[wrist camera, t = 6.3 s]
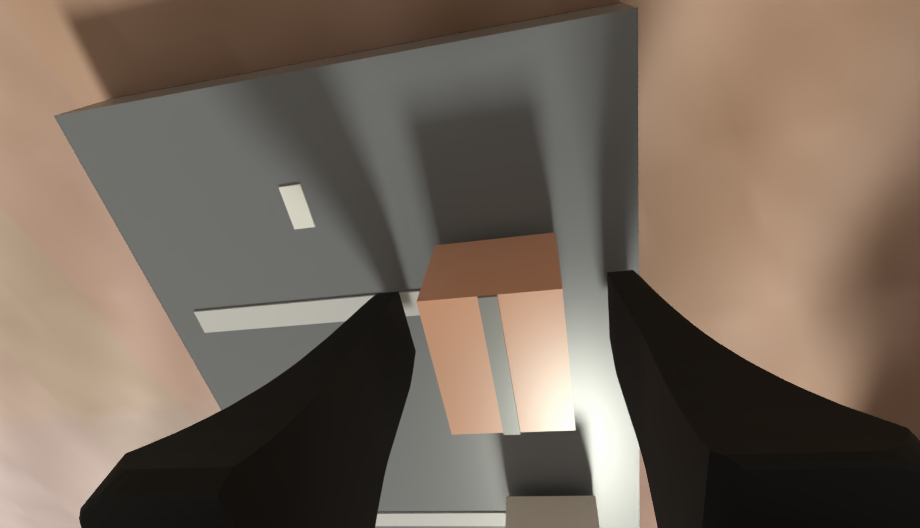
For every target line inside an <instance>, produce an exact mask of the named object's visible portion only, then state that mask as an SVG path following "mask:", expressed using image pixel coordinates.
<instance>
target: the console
mask: <svg viewBox="0 0 920 528" xmlns="http://www.w3.org/2000/svg"><path fill="white" fill-rule="evenodd" d="M54 117H55V119H56V120H57V122H58V124H59V126H60V127H61V129H62V131H63V133H64V134H65V136H66V138H67V140H68V141H69V143H70V145H71V147H72V148H73V150H74V152H75V154H76V156H77V157H78V159H79V161H80V163H81V164H82V166H83V168H84V170H85V171H86V173H87V175H88V177H89V178H90V180H91V182H92V184H93V185H94V187H95V189H96V191H97V192H98V194H99V196H100V198H101V199H102V201H103V203H104V205H105V206H106V208H107V210H108V212H109V213H110V215H111V217H112V219H113V221H114V222H115V224H116V226H117V228H118V229H119V231H120V233H121V235H122V236H123V238H124V240H125V242H126V243H127V245H128V247H129V249H130V250H131V252H132V254H133V256H134V257H135V259H136V261H137V263H138V264H139V266H140V268H141V270H142V271H143V273H144V275H145V277H146V278H147V280H148V282H149V284H150V286H151V287H152V289H153V291H154V293H155V294H156V296H157V298H158V300H159V301H160V303H161V305H162V307H163V308H164V310H165V312H166V314H167V315H168V317H169V319H170V321H171V322H172V324H173V326H174V328H175V329H176V331H177V333H178V335H179V336H180V338H181V340H182V342H183V344H184V345H185V347H186V349H187V351H188V352H189V354H190V356H191V358H192V359H193V361H194V363H195V365H196V366H197V368H198V370H199V372H200V373H201V375H202V377H203V379H204V380H205V382H206V384H207V386H208V387H209V389H210V391H211V393H212V394H213V396H214V398H215V400H216V401H217V403H218V405H219V407H220V409H221V410H223V409H225V408H227V407H229V406H231V405H232V404H234V403H236V402H237V401H239V400H241V399H242V398H244V397H246V396H247V395H249V394H251V393H252V392H254V391H256V390H257V389H259V388H261V387H262V386H264V385H266V384H267V383H269V382H270V381H272V380H273V379H274V378H276V377H277V376H279V375H280V374H282V373H283V372H285V371H286V370H287V369H289V368H290V367H291V366H293V365H294V364H296V363H297V362H298V361H299V360H301V359H302V358H303V357H304V356H306V355H307V354H308V353H309V352H310V351H312V350H313V349H314V348H315V347H317V346H318V345H319V344H320V343H321V342H323V341H324V340H325V339H326V338H327V337H329V336H330V335H331V334H332V333H333V332H334V331H335V330H336V329H338V328H339V327H340V326H341V325H342V324H343V323H344V322H345V321H346V320H347V319H349V318H350V317H351V316H352V315H353V314H354V313H355V312H356V311H357V310H358V309H359V308H361V307H362V306H363V305H364V304H365V303H366V302H367V301H368V300H370V299H371V298H372V297H373V296H375V295H376V294H377V293H387V292H398V291H399V294H400V297H401V301H402V304H403V308H404V312H405V315H406V319H407V322H408V326H409V329H410V333H411V336H412V340H413V343H414V347H415V350H416V354H415V361H414V368H413V375H412V381H411V386H410V389H409V393H408V396H407V400H406V403H405V406H404V410H403V413H402V416H401V420H400V423H399V426H398V429H397V433H396V436H395V439H394V443H393V446H392V449H391V453H390V456H389V459H388V463H387V467H386V471H385V476H384V481H383V486H382V492H381V497H380V502H379V508H378V513H377V519H376V525H375V528H505V524H506V497H513V496H595V497H596V504H597V512H598V519H599V526H600V528H639V444H638V441H637V437H636V434H635V431H634V428H633V425H632V422H631V419H630V416H629V412H628V409H627V406H626V403H625V400H624V397H623V394H622V390H621V387H620V384H619V381H618V378H617V374H616V370H615V365H614V360H613V354H612V349H611V343H610V336H609V310H608V285H607V272H616V271H627V270H634V271H635V272H636V273H637V274H638V275H639V260H638V8H636V7H633V6H629V5H626V4H623V3H618V4H612V5H607V6H602V7H596V8H591V9H586V10H581V11H575V12H570V13H565V14H559V15H554V16H549V17H543V18H538V19H533V20H527V21H522V22H517V23H511V24H506V25H501V26H496V27H490V28H485V29H480V30H474V31H469V32H464V33H458V34H453V35H448V36H442V37H437V38H432V39H426V40H421V41H416V42H410V43H405V44H400V45H395V46H389V47H384V48H379V49H373V50H368V51H363V52H357V53H352V54H347V55H341V56H336V57H331V58H325V59H320V60H315V61H310V62H304V63H299V64H294V65H288V66H283V67H278V68H272V69H267V70H262V71H256V72H251V73H246V74H240V75H235V76H230V77H224V78H219V79H214V80H209V81H203V82H198V83H193V84H187V85H182V86H177V87H171V88H166V89H161V90H155V91H150V92H145V93H139V94H134V95H129V96H124V97H118V98H113V99H109V100H106V101H102V102H99V103H96V104H92V105H89V106H86V107H82V108H79V109H76V110H72V111H69V112H66V113H62V114H59V115H56V116H54ZM554 232H556V239H557V247H558V256H559V264H560V272H561V280H562V289H563V299H564V310H565V321H566V332H567V343H568V354H569V365H570V375H571V386H572V397H573V408H574V419H575V430H571V431H543V432H520V435H504V433H485V434H457V435H452V434H451V430H450V426H449V422H448V419H447V415H446V411H445V407H444V404H443V400H442V396H441V392H440V389H439V385H438V381H437V377H436V374H435V370H434V366H433V362H432V359H431V355H430V351H429V347H428V344H427V340H426V336H425V332H424V329H423V325H422V321H421V317H420V314H419V310H418V306H417V302H416V301H417V298H418V295H419V292H420V289H421V286H422V283H423V280H424V277H425V274H426V271H427V268H428V265H429V262H430V259H431V256H432V253H433V250H434V247H435V245H443V244H452V243H461V242H470V241H480V240H489V239H498V238H507V237H517V236H526V235H535V234H544V233H554Z"/></svg>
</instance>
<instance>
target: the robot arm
mask: <svg viewBox="0 0 920 528" xmlns="http://www.w3.org/2000/svg"><path fill="white" fill-rule="evenodd" d="M607 285H608V310H609V336H610V343H611V349H612V354H613V360H614V365H615V370H616V374H617V378H618V381H619V384H620V387H621V390H622V394H623V397H624V400H625V403H626V406H627V409H628V412H629V416H630V419H631V422H632V425H633V428H634V431H635V434H636V437H637V441H638V444H639V447H640V450H641V453H642V457H643V461H644V465H645V468H646V473H647V478H648V482H649V487H650V492H651V497H652V501H653V506H654V511H655V516H656V521H657V526H658V528H920V440H919V439H918V438H917V437H916V436H915V435H914V434H913V433H912V432H911V431H910V430H909V429H908V428H905V427H903V426H900V425H897V424H894V423H891V422H888V421H886V420H883V419H880V418H877V417H874V416H871V415H868V414H866V413H863V412H860V411H857V410H854V409H851V408H848V407H846V406H843V405H841V404H838V403H836V402H833V401H831V400H828V399H826V398H824V397H821V396H819V395H817V394H814V393H812V392H809V391H807V390H805V389H803V388H800V387H798V386H796V385H794V384H792V383H790V382H787V381H785V380H783V379H781V378H779V377H777V376H775V375H774V374H772V373H770V372H768V371H766V370H764V369H762V368H760V367H758V366H756V365H754V364H753V363H751V362H749V361H747V360H745V359H744V358H742V357H740V356H739V355H737V354H736V353H734V352H732V351H731V350H729V349H727V348H726V347H724V346H723V345H721V344H719V343H718V342H716V341H715V340H714V339H712V338H711V337H709V336H708V335H706V334H705V333H704V332H702V331H701V330H700V329H698V328H697V327H696V326H694V325H693V324H692V323H691V322H689V321H688V320H687V319H686V318H684V317H683V316H682V315H681V314H680V313H679V312H677V311H676V310H675V309H674V308H673V307H672V306H670V305H669V304H668V303H667V302H666V301H665V300H664V299H663V298H662V297H661V296H659V295H658V294H657V293H656V292H655V291H654V290H653V289H652V288H651V287H650V286H649V285H648V284H647V283H646V282H645V281H644V280H643V279H642V278H641V277H640V276H639V275H638V274H637V273H636V272H635V271H634V270H627V271H616V272H607ZM415 354H416V350H415V347H414V343H413V340H412V336H411V333H410V329H409V326H408V322H407V319H406V315H405V312H404V308H403V304H402V301H401V297H400V294H399V291H398V292H387V293H377V294H376V295H375V296H373V297H372V298H371V299H370V300H368V301H367V302H366V303H365V304H364V305H363V306H362V307H361V308H359V309H358V310H357V311H356V312H355V313H354V314H353V315H352V316H351V317H350V318H349V319H347V320H346V321H345V322H344V323H343V324H342V325H341V326H340V327H339V328H338V329H336V330H335V331H334V332H333V333H332V334H331V335H330V336H329V337H327V338H326V339H325V340H324V341H323V342H321V343H320V344H319V345H318V346H317V347H315V348H314V349H313V350H312V351H310V352H309V353H308V354H307V355H306V356H304V357H303V358H302V359H301V360H299V361H298V362H297V363H296V364H294V365H293V366H291V367H290V368H289V369H287V370H286V371H285V372H283V373H282V374H280V375H279V376H277V377H276V378H274V379H273V380H272V381H270V382H269V383H267V384H266V385H264V386H262V387H261V388H259V389H257V390H256V391H254V392H252V393H251V394H249V395H247V396H246V397H244V398H242V399H241V400H239V401H237V402H236V403H234V404H232V405H231V406H229V407H227V408H225V409H223V410H221V411H219V412H218V413H216V414H214V415H212V416H210V417H208V418H206V419H204V420H202V421H200V422H198V423H196V424H194V425H192V426H190V427H188V428H185V429H183V430H181V431H179V432H177V433H174V434H172V435H170V436H167V437H165V438H163V439H160V440H158V441H155V442H153V443H151V444H148V445H146V446H143V447H141V448H139V449H136V450H134V451H131V452H129V453H126V454H125V455H124V456H123V457H122V459H121V460H120V461H119V462H118V463H117V465H116V466H115V467H114V468H113V470H112V471H111V472H110V473H109V474H108V476H107V477H106V478H105V479H104V481H103V482H102V483H101V484H100V485H99V487H98V488H97V489H96V490H95V492H94V493H93V494H92V495H91V496H90V498H89V499H88V500H87V501H86V503H85V504H84V505H83V506H82V507H81V510H80V516H79V520H80V524H81V527H82V528H375V525H376V519H377V513H378V508H379V502H380V497H381V492H382V486H383V481H384V476H385V471H386V467H387V463H388V459H389V456H390V453H391V449H392V446H393V443H394V439H395V436H396V433H397V429H398V426H399V423H400V420H401V416H402V413H403V410H404V406H405V403H406V400H407V396H408V393H409V389H410V386H411V381H412V375H413V368H414V361H415Z"/></svg>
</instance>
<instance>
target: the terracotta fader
mask: <svg viewBox="0 0 920 528" xmlns="http://www.w3.org/2000/svg"><path fill="white" fill-rule="evenodd" d="M416 302H417V306H418V310H419V314H420V317H421V321H422V325H423V329H424V332H425V336H426V340H427V344H428V347H429V351H430V355H431V359H432V362H433V366H434V370H435V374H436V377H437V381H438V385H439V389H440V392H441V396H442V400H443V404H444V407H445V411H446V415H447V419H448V422H449V426H450V430H451V434H452V435H457V434H485V433H504V435H520V432H543V431H571V430H575V419H574V408H573V397H572V386H571V375H570V365H569V354H568V343H567V332H566V321H565V310H564V299H563V289H562V280H561V272H560V264H559V256H558V247H557V239H556V232H554V233H544V234H535V235H526V236H517V237H507V238H498V239H489V240H480V241H470V242H461V243H452V244H443V245H435V247H434V250H433V253H432V256H431V259H430V262H429V265H428V268H427V271H426V274H425V277H424V280H423V283H422V286H421V289H420V292H419V295H418V298H417V301H416Z"/></svg>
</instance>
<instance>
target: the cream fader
mask: <svg viewBox="0 0 920 528" xmlns="http://www.w3.org/2000/svg"><path fill="white" fill-rule="evenodd" d="M505 528H600V526H599V519H598V512H597V504H596V497H595V496H513V497H506V524H505Z"/></svg>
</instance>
